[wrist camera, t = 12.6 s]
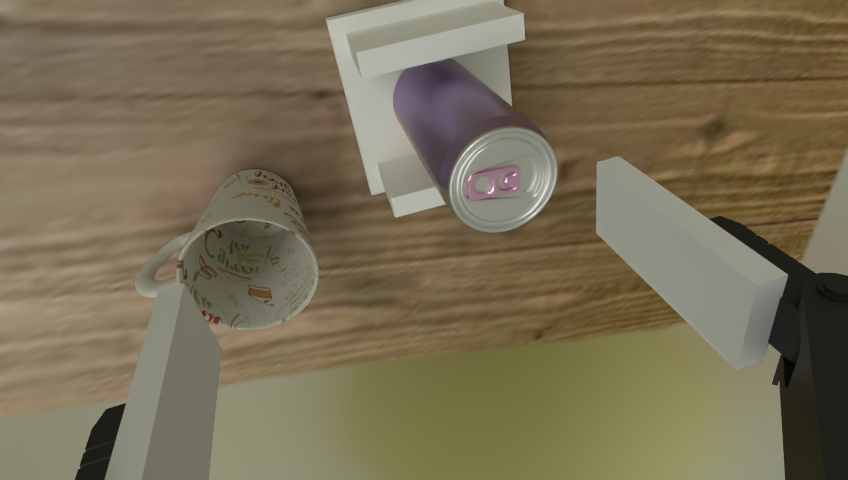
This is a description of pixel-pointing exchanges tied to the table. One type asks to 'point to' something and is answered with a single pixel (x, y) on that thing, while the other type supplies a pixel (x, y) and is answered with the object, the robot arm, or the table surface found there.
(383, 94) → the holder
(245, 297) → the mug
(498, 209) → the beverage can
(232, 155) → the table surface
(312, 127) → the table surface
